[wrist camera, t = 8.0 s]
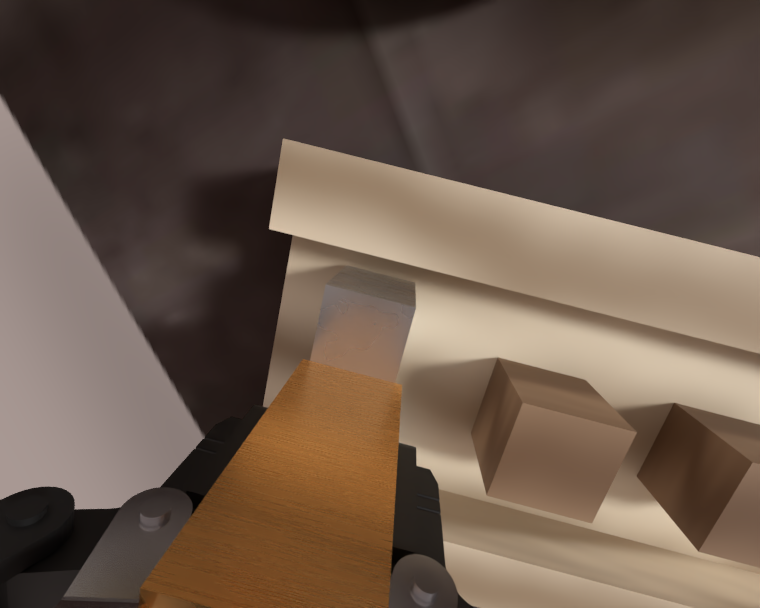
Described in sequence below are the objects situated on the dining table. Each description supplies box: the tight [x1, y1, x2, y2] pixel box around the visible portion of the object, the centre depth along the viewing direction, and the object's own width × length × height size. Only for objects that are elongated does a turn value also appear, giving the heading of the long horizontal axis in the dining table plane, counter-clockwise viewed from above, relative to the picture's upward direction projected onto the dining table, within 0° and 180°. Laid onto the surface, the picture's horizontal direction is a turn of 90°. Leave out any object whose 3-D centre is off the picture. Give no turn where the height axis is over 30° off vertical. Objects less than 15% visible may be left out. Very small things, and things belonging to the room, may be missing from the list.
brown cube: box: [637, 403, 760, 568], centre depth 15 cm, size 4×4×4 cm
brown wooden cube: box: [471, 357, 637, 523], centre depth 15 cm, size 4×4×4 cm
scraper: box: [138, 265, 416, 608], centre depth 11 cm, size 9×4×12 cm, turn 167°
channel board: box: [263, 139, 760, 608], centre depth 18 cm, size 17×28×7 cm, turn 77°
